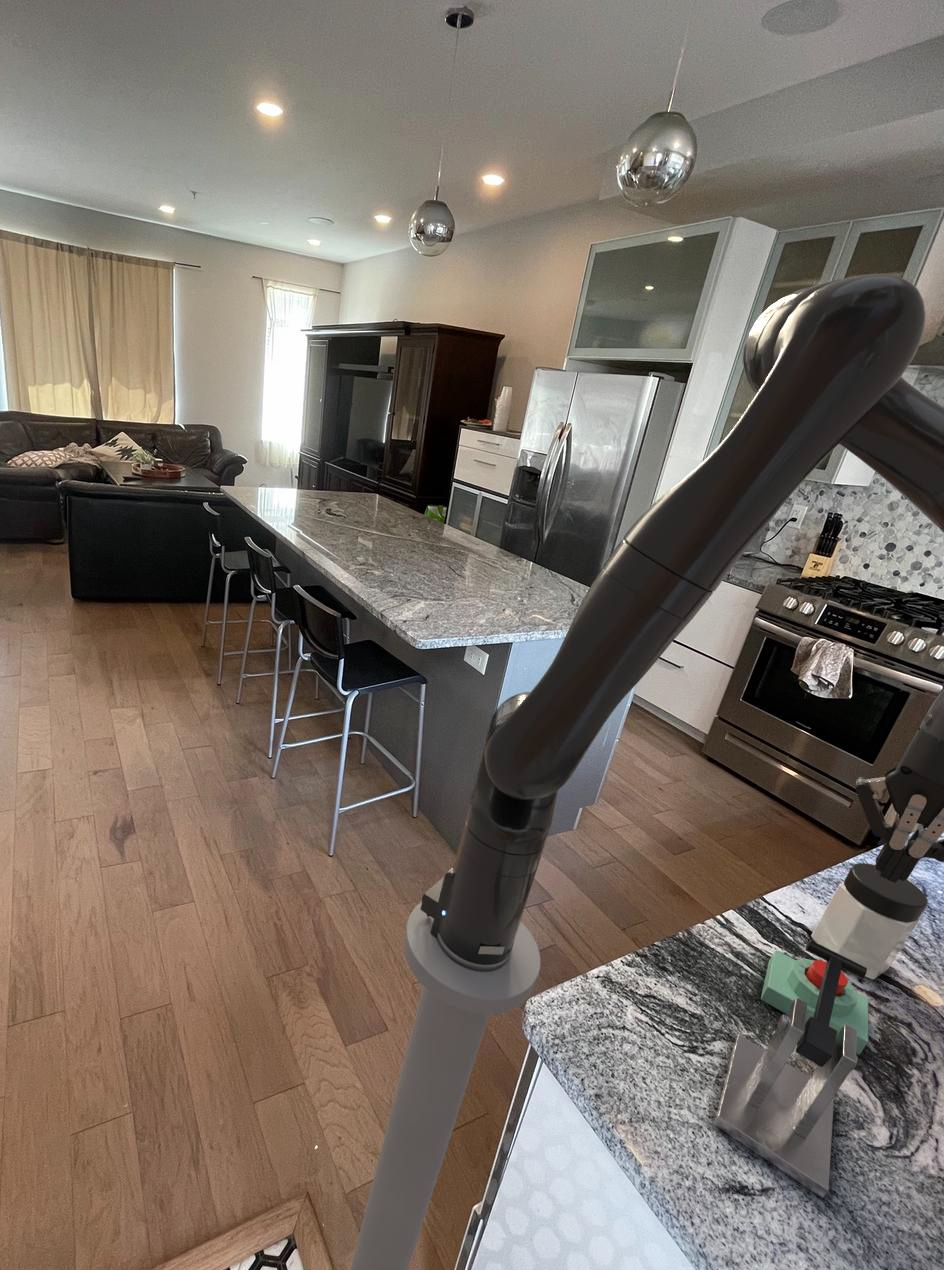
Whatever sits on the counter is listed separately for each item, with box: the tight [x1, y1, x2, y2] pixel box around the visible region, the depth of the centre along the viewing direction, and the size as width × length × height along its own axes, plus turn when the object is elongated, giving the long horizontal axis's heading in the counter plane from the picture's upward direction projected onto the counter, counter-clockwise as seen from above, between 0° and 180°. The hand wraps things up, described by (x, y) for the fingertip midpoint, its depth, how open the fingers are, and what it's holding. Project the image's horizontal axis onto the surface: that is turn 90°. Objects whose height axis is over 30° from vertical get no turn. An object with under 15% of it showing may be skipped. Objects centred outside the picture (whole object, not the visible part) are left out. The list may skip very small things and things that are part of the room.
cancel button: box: [806, 959, 849, 996], centre depth 74 cm, size 4×4×2 cm
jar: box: [810, 862, 929, 980], centre depth 83 cm, size 9×8×12 cm
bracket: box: [713, 997, 859, 1199], centre depth 60 cm, size 12×9×12 cm
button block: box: [760, 949, 869, 1056], centre depth 75 cm, size 10×8×4 cm
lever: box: [795, 939, 867, 1067], centre depth 61 cm, size 12×5×2 cm, turn 141°
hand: (886, 876), depth 68 cm, fingers closed
